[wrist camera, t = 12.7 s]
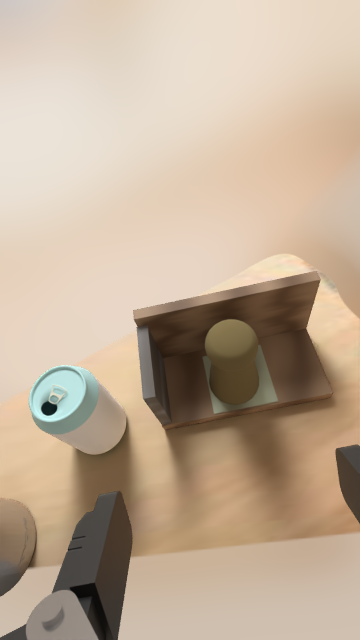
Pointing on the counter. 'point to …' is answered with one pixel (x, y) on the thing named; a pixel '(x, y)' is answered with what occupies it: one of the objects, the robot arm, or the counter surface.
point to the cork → (232, 361)
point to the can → (77, 409)
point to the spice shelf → (194, 365)
